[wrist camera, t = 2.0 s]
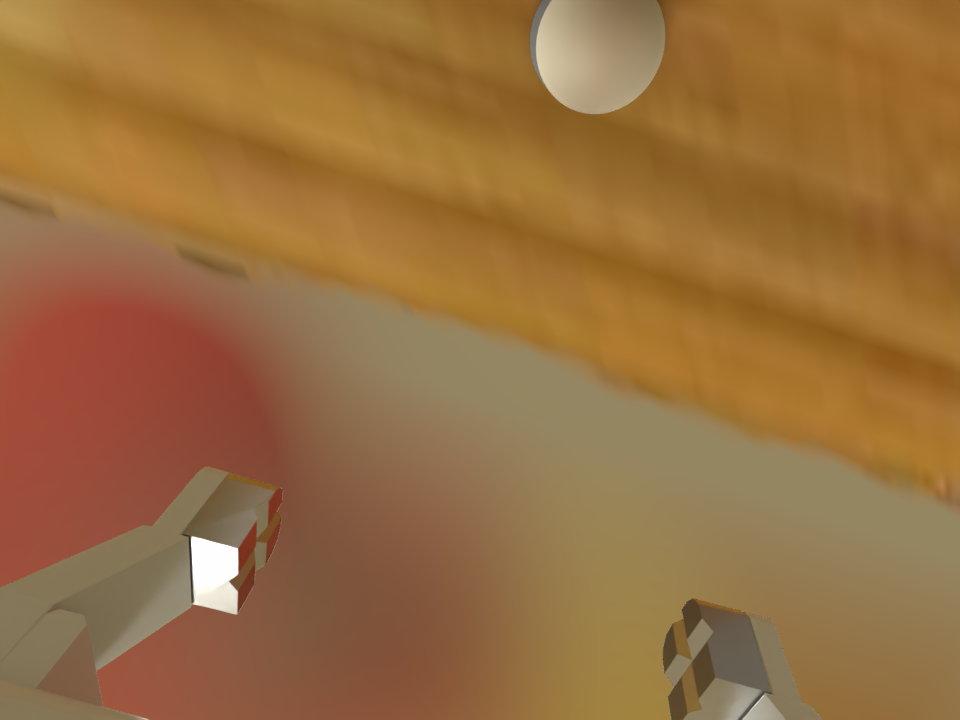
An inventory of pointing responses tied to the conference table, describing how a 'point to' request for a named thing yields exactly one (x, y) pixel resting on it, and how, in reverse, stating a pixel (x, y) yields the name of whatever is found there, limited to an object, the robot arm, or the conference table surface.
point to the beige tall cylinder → (597, 50)
